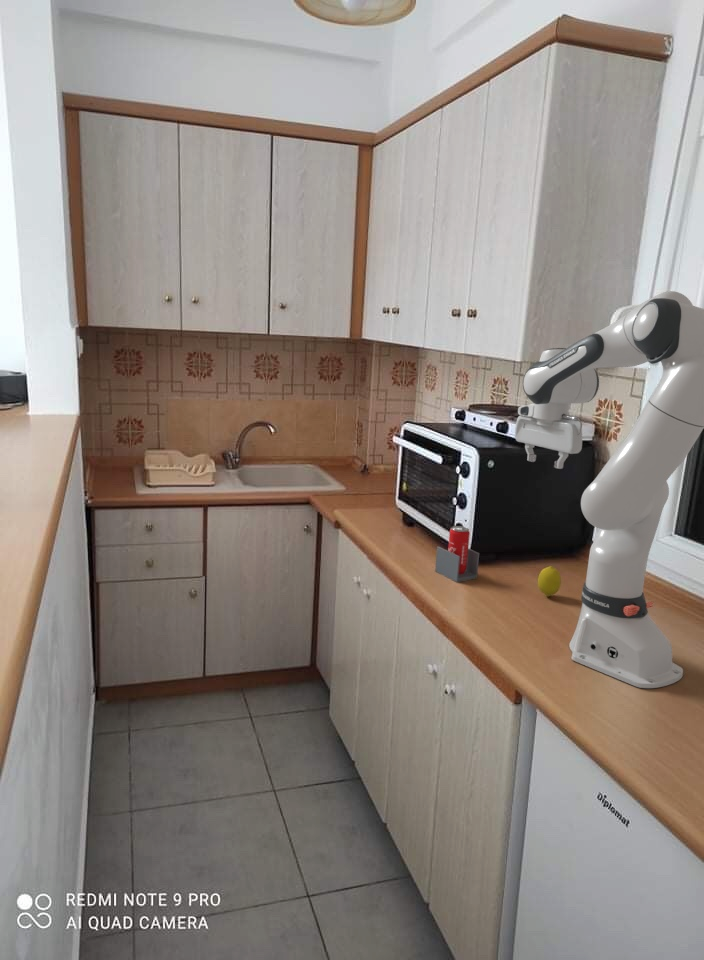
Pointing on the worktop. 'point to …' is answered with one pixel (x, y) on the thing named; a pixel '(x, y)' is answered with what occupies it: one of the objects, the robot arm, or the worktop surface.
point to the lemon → (549, 581)
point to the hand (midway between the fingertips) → (544, 464)
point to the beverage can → (459, 545)
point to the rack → (456, 565)
